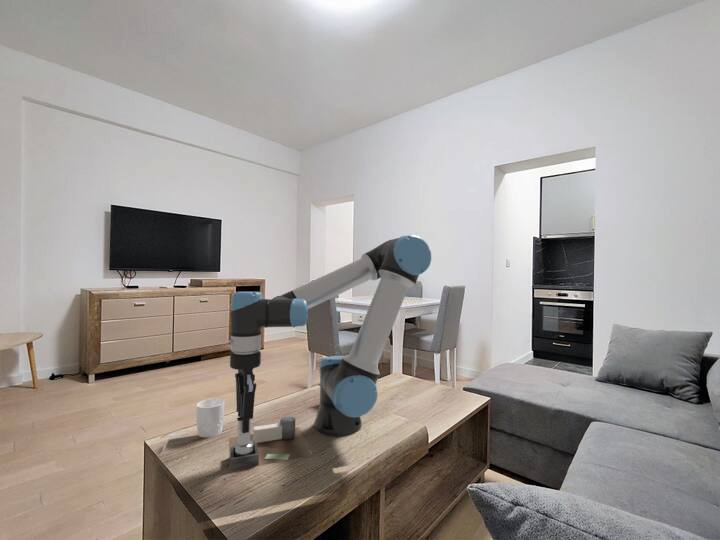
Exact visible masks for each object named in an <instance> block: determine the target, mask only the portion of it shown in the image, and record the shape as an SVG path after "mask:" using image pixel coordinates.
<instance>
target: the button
mask: <svg viewBox="0 0 720 540" xmlns="http://www.w3.org/2000/svg"><path fill="white" fill-rule="evenodd" d="M251 454H253V442H252V441H250V444H246V445H242V446H239V445H238V443H237V444H236V445H235V457H240V456H246V455H251Z"/></svg>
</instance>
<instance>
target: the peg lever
mask: <svg viewBox="0 0 720 540" xmlns="http://www.w3.org/2000/svg"><path fill="white" fill-rule="evenodd" d="M295 428H296V418H295V416H284V417H281V418H280V420H279V422H278V423H272V424H264V425H259V426H256V425H255V426H253V434H254V443H259V442H265V441H271V440H278V439H292V438H294V437H295Z"/></svg>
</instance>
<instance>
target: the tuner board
mask: <svg viewBox="0 0 720 540" xmlns="http://www.w3.org/2000/svg"><path fill="white" fill-rule="evenodd" d="M250 441H252V442H253V454H251V455H246V456H240V457H235V445H236V444H237V443H238V435H237V436H232V437H229V472H232V471H236V470H237V471H239V470H243V469H247V468H248V469H249V468H253V467H259V466H265V465H270V464H275V463H276V464H277V463H280V462H285V461H291V460H296V459H301V458H307V457H313V453H312V451H311V450H310V447H309V445H308V443H307V442H306V439H305V437H304V435H303V433H302V430H301V428H300V427H299V426H297V427H296V426H295V437H294V438H292V439H278V440H271V441H265V442H259V443H254V433H250Z"/></svg>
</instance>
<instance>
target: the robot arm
mask: <svg viewBox="0 0 720 540" xmlns="http://www.w3.org/2000/svg"><path fill="white" fill-rule="evenodd" d="M431 262H432V251H431V249H430V246H429V245H428V243H427V241H426V240H424V239H423V238H422V237H420V236H418V235H414V234H410V235H407V234H406V235H405V234H404V235H401V236H400V237H396V238H392V239H389V240H386V241H385V242H383V243H381V244H379V245H378V246H377V247H374V248H372V249H371V250H370V251H367V252H365V253H363V254H361V257H360V258H359V259H357V260H355V261H352V262H351V263H349V264H346V265H344V266H342V267H340V268H338V269H335V270H333V271H331V272H329V273H326V274H324V275H321V276H320V277H317V278H316V279H314V280H312V281H309V282H307V283H305V284H303V285H300V286H298V287H296V288H295V289H292V290H289V291H287V292H285V293H283V294H281V295H276V296H275V297H273V298H271V299H268V298H263V293H262V292H261V291H236V292H234V293H233V294H232V296H231V305H230V306H231V307H230V339H228V341H227V342H228V344H230V351H231V352H230V354H229V367H230V368H231V369H232V370H236V371H237V373H236V372H235V375H234V377H235V392H236V393H235V395H236V396H235V397H236V398H235V399H236V412H237V416H238V417H237V418H236V421H237V423H238V424H237V425H238V426H237V436H238V445H239V446H242V445H246V444H250V434H251V420H252V419H253V418H254V407H255V397H256V390H257V383H256V382H255V380H256V378H255V376H256V375H255V373H254V369H255V368H258V367H260V366H261V363H262V360H261V359H262V353H261V351H260V350H261V349H262V328H266V329H267V328H296V327H297V328H298V327H304V326H305V325H306V324H307V322H308V317H309V315H308V314H309V313H308V311H309V310H310V309H311V308H314V307H316V306H317V305H320V304H322V303H325V302H326V301H328V300H331V299H333V298H334V297H336V296H338V295H340V294H343V293H346V292H348V290H351V289H354V288H356V287H357V286H360V285H361V284H363V283H365V282H368V281H371V280H372V281H377V280H378V279H380V280H379V282H378V285H377V288H376V290H375V292H374V295H373V297H372V299H371V302H370V304H369V307H368V309H367V312H366V314H365V316H364V318H363V321H362V324H361V326H360V329H359V331H358V333H357V335H356V338H355V340H354V343H353V344H352V348H351V350H350V352H349V353H348V354H346V355H333V356H332V355H331V356H330V355H329V356H325V357H322V358H321V360H320V366H319V370H320V374H319V377H320V378H319V380H320V381H319V384H320V385H319V386H320V387H319V406H318V407H319V408H318V411H317V412H316V413H317V414H316V417H315V419H314V424H313V425H314V426H313V427H314V428H313V429H315V431H316V432H317V433H319V434H321V435H325V436H329V437H345V436H350V435H353V434H356V433H357V432H359V431H360V430H361V429H362V425H363V423H362V418H361V417H362V416H364V415H367V413H369V412H370V411H371V410H372V409H373V408H374V406H375V404H376V403H377V400H378V389H377V385H376V384H377V382H378V379H379V377H380V373H381V372H380V370H379V367H378V364H379V362H380V361H381V360H380V359H381V357H382V355H383V352H384V349H385V347H386V345H387V342H388V339H389V338H390V335H391V331H392V330H393V327H394V325H395V322H396V320H397V317H398V315H399V312H400V310H401V307H402V305H403V302H404V300H405V298H406V294H407V292H408V290H409V289H411V288H414V287H415V286H416V284H417V281H418V278H419V277H420V275H421V274H422V275H423V274H424V273H425V272H426V271H427V270H428V269H429V267H430V266H431Z"/></svg>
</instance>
